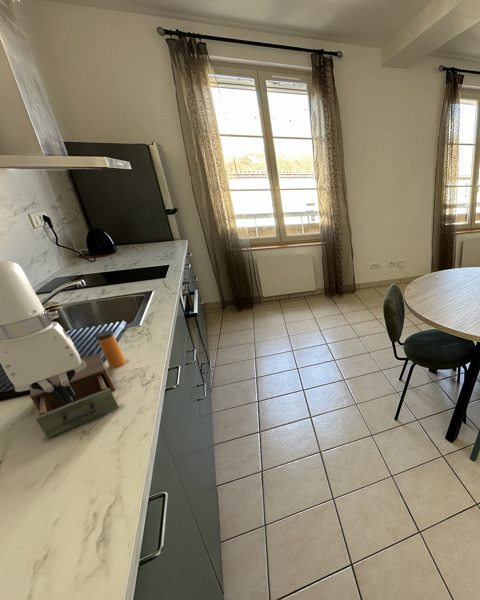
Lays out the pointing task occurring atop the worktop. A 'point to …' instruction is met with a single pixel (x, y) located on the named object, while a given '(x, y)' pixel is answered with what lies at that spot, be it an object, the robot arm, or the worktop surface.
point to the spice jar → (110, 348)
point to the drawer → (76, 406)
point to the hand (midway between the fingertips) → (67, 401)
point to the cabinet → (79, 377)
